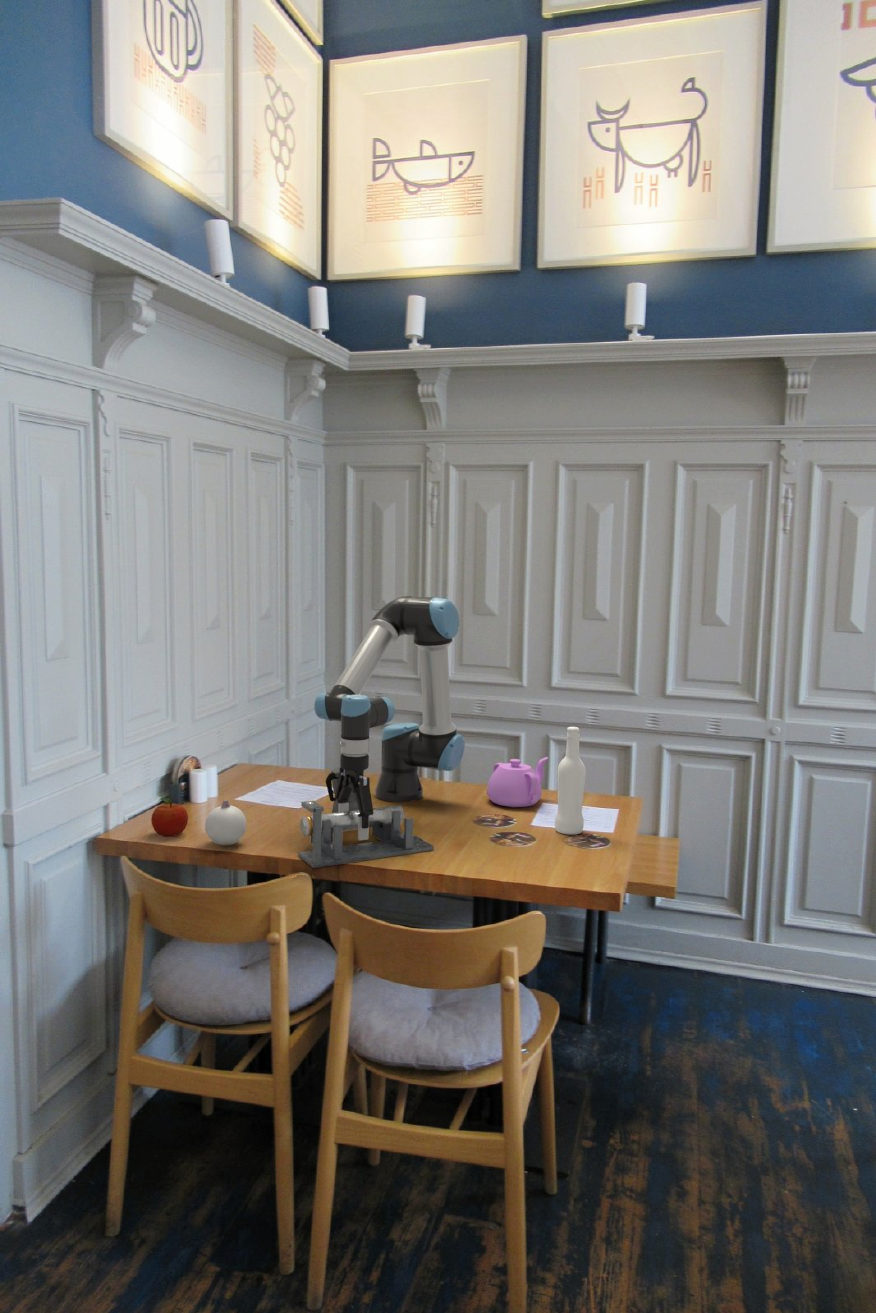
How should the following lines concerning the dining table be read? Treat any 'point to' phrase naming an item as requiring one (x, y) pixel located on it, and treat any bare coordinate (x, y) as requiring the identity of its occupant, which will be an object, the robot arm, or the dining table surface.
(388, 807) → the tube
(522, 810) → the dining table surface
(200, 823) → the dining table surface
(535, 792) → the teapot
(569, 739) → the bottle
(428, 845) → the grey tube stand
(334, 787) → the coffeepot
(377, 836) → the rest chocks
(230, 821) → the ornament
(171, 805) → the fruit
